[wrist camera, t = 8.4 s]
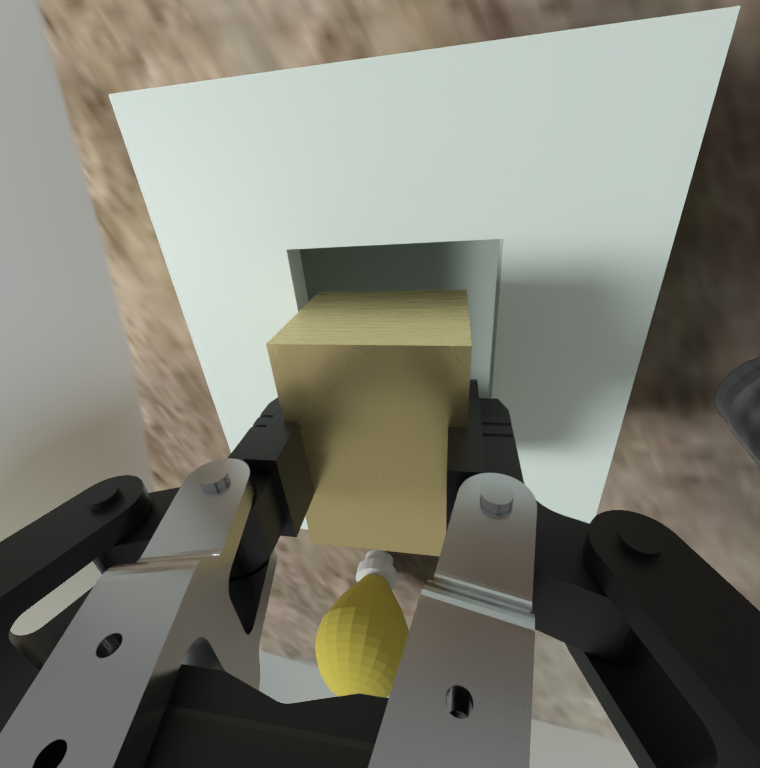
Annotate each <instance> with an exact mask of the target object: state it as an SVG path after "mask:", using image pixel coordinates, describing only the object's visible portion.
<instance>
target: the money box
mask: <svg viewBox="0 0 760 768" xmlns="http://www.w3.org/2000/svg"><path fill="white" fill-rule="evenodd" d="M739 10H740V6H736V7H728V8H721V9H714V10H707V11H700V12H693V13H686V14H678V15H671V16H664V17H657V18H650V19H643V20H636V21H628V22H621V23H614V24H607V25H600V26H593V27H586V28H578V29H571V30H564V31H557V32H550V33H543V34H536V35H528V36H521V37H514V38H507V39H500V40H493V41H486V42H478V43H471V44H464V45H457V46H450V47H443V48H436V49H428V50H421V51H414V52H407V53H400V54H393V55H386V56H378V57H371V58H364V59H357V60H350V61H343V62H336V63H328V64H321V65H314V66H307V67H300V68H293V69H286V70H278V71H271V72H264V73H257V74H250V75H243V76H236V77H228V78H221V79H214V80H207V81H200V82H193V83H186V84H178V85H171V86H164V87H157V88H150V89H143V90H136V91H128V92H121V93H114V94H108V95H109V98H110V101H111V104H112V107H113V110H114V112H115V115H116V118H117V121H118V124H119V127H120V130H121V133H122V136H123V139H124V142H125V145H126V147H127V150H128V153H129V156H130V159H131V162H132V165H133V168H134V171H135V174H136V177H137V180H138V183H139V185H140V188H141V191H142V194H143V197H144V200H145V203H146V206H147V209H148V212H149V215H150V218H151V220H152V223H153V226H154V229H155V232H156V235H157V238H158V241H159V244H160V247H161V250H162V253H163V255H164V258H165V261H166V264H167V267H168V270H169V273H170V276H171V279H172V282H173V285H174V288H175V290H176V293H177V296H178V299H179V302H180V305H181V308H182V311H183V314H184V317H185V320H186V323H187V325H188V328H189V331H190V334H191V337H192V340H193V343H194V346H195V349H196V352H197V355H198V358H199V360H200V363H201V366H202V369H203V372H204V375H205V378H206V381H207V384H208V387H209V390H210V393H211V395H212V398H213V401H214V404H215V407H216V410H217V413H218V416H219V419H220V422H221V425H222V428H223V430H224V433H225V436H226V439H227V442H228V445H229V448H230V451H231V453H232V452H233V450H234V449H235V448H236V446H237V445H238V444H239V442H240V441H241V440H242V438H243V437H244V436H245V434H246V433H247V432H248V430H249V429H250V428H251V427H253V424H254V422H255V421H256V420H257V418H258V417H260V414H261V413H262V412H263V410H264V409H265V408H266V406H267V405H268V404H269V403H270V402H272V401H273V400H275V399H276V398H277V397H278V394H277V390H276V386H275V381H274V377H273V372H272V368H271V364H270V359H269V355H268V351H267V346H266V344H267V343H268V342H269V341H270V340H271V339H272V338H273V337H274V336H275V335H276V334H277V333H278V332H279V331H280V330H281V329H282V328H283V327H284V326H285V325H286V324H287V323H288V322H289V321H290V320H291V319H292V318H293V317H294V316H295V315H296V314H297V313H298V312H299V311H300V310H301V309H302V308H303V307H304V306H305V305H306V304H307V303H308V302H309V301H310V300H311V299H312V298H313V297H314V296H315V295H316V294H317V293H318V292H339V291H407V290H467V298H468V309H469V320H470V330H471V341H472V354H471V370H470V379H477V383H478V393H479V398H496V399H499V400H500V401H501V402H502V404H503V405H504V406H505V407H506V408H507V409H508V410H509V414H510V419H511V423H512V424H511V426H512V428H513V433H514V438H515V442H516V447H517V452H518V457H519V461H520V466H521V471H522V476H523V480H524V484H525V485H526V486H527V487H528V488H529V489H530V490H531V492H532V493H533V495H534V497H535V499H536V500H537V501H538V502H539V503H541V504H542V505H543V506H545V507H547V508H548V509H550V510H552V511H554V512H556V513H559V514H562V515H564V516H567V517H571V518H574V519H577V520H580V521H583V522H586V523H591V521H592V519H593V518H594V517H595V516H596V513H597V509H598V506H599V502H600V499H601V495H602V492H603V488H604V485H605V481H606V478H607V474H608V471H609V467H610V464H611V460H612V457H613V453H614V450H615V446H616V443H617V439H618V436H619V432H620V429H621V425H622V421H623V418H624V414H625V411H626V407H627V404H628V400H629V397H630V393H631V390H632V386H633V383H634V379H635V376H636V372H637V369H638V365H639V362H640V358H641V355H642V351H643V348H644V344H645V341H646V337H647V333H648V330H649V326H650V323H651V319H652V316H653V312H654V309H655V305H656V302H657V298H658V295H659V291H660V288H661V284H662V281H663V277H664V274H665V270H666V267H667V263H668V260H669V256H670V252H671V249H672V245H673V242H674V238H675V235H676V231H677V228H678V224H679V221H680V217H681V214H682V210H683V207H684V203H685V200H686V196H687V193H688V189H689V186H690V182H691V179H692V175H693V172H694V168H695V164H696V161H697V157H698V154H699V150H700V147H701V143H702V140H703V136H704V133H705V129H706V126H707V122H708V119H709V115H710V112H711V108H712V105H713V101H714V98H715V94H716V91H717V87H718V84H719V80H720V76H721V73H722V69H723V66H724V62H725V59H726V55H727V52H728V48H729V45H730V41H731V38H732V34H733V31H734V27H735V24H736V20H737V17H738V13H739ZM300 529H307V530H308V525H307V521H306V516H305V518H304V521H303V523H302V525H301V528H300Z"/></svg>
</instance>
